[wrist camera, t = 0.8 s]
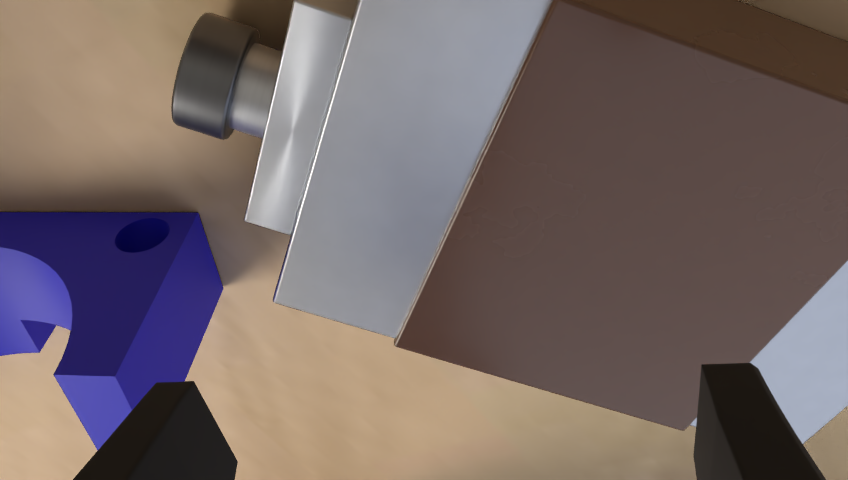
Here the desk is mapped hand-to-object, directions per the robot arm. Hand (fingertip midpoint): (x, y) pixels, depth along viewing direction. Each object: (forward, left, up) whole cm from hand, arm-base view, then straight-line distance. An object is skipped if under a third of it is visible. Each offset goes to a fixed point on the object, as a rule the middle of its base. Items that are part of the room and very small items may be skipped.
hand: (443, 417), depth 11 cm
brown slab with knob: (-1, -3, -10) cm, 10 cm away
